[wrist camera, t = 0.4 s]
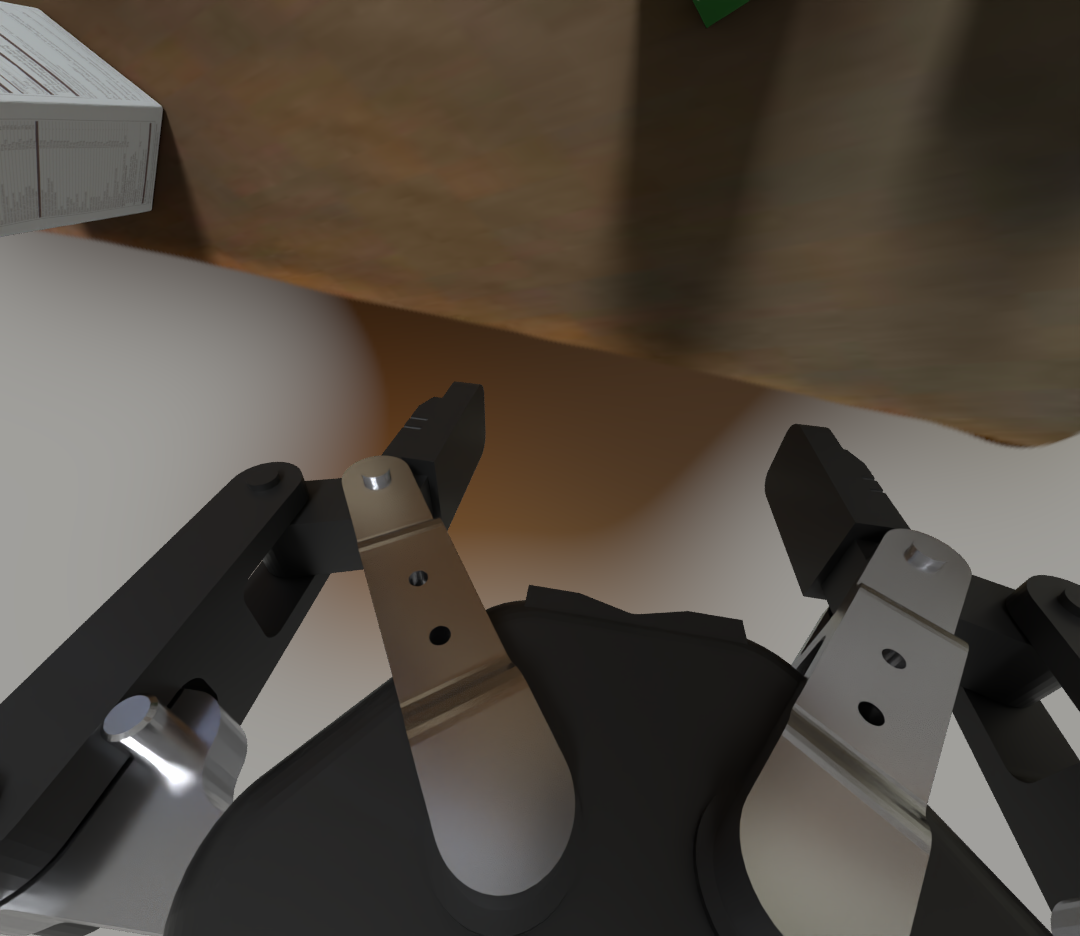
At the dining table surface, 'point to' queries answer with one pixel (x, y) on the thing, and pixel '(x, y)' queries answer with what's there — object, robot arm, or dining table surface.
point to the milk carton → (716, 9)
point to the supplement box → (68, 130)
